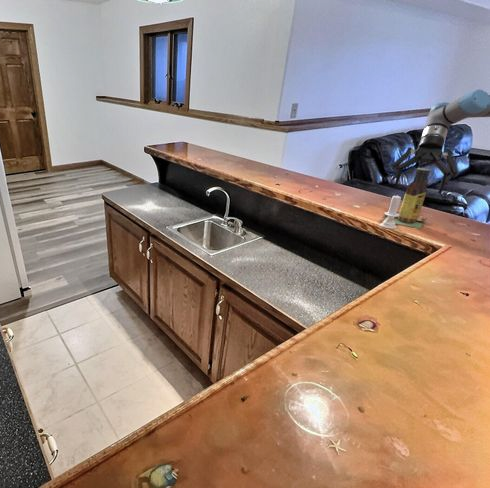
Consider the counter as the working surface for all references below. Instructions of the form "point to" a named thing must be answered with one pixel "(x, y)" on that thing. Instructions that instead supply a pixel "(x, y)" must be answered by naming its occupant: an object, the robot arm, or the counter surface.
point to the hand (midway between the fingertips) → (417, 188)
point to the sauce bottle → (414, 197)
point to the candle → (392, 213)
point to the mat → (415, 225)
